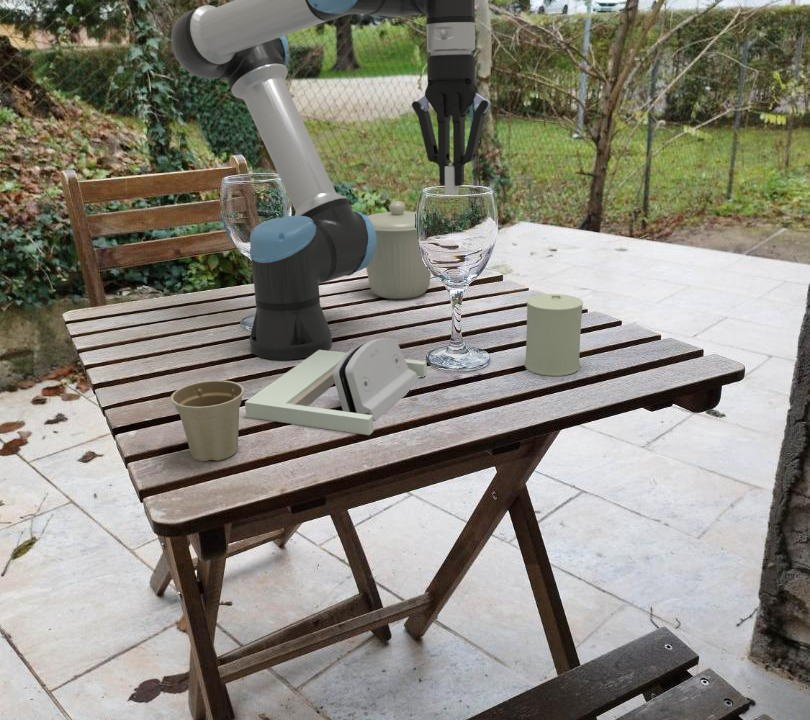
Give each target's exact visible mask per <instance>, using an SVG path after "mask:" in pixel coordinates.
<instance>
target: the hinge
mask: <svg viewBox="0 0 810 720" xmlns="http://www.w3.org/2000/svg"><path fill="white" fill-rule="evenodd" d="M345 353H346V354H345V355H344V356H343V357H342V359H341V360H340V361H339V363H338V364H337V366H336V368H335V370H334V371H333V378H334V382H335V388H336V392H337V395H338V397H339V402H340V406H341V409H342V411H345V412H352V413H359V414H368V415H373V422H376V421H377V420H378V419H379V418H381V417H382V416H383V415H384V414H385V413H387V412H388V411H389V410H390V409H391V408H392V407H394V406H395V405H396V404H397V403H398V402H399V401H401V400H402V399H403V398H404V397H405V396H406V395H408V394H409V393H410V392H409V390H410V389H411V388H412V387H413V386H414V385H416V384H417V383H418V382H420V379H419V377H418V376H417V374H416V372H414V371H412V370H410V369H409V368H408V365H407V363H406V361H405V359H406V358H405V356H404V354H403V352H402V350H401V348H400V345H399V343H398V341H397V339H396V338H394V337H393V338H391V337H390V338H389V337H385V338H384V337H383V338H374V339H371V340H367V341H364V342H362V343H360V344H358V345H356V346H354V347H353V348H351V349H350V350H348V351H347V352H345ZM408 392H409V393H408ZM407 393H408V394H407ZM387 410H388V411H387Z"/></svg>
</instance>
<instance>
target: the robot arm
mask: <svg viewBox="0 0 810 720" xmlns="http://www.w3.org/2000/svg"><path fill="white" fill-rule="evenodd" d="M475 9H476V0H231V1H230V2H226V3H225V4H222V5H219V6H214V5H210V4H206V5H202V6H199V7H197V8H193V9H191V10H189V11H187V12H185V13H184V14H182V15H181V16H179V18H178V19H177V20H176V21H175V23H174V25H173V28H172V31H171V39H170V42H171V48H172V52H173V56H175V59H176V60H177V62H178V63H179V64H180V66H181V67H182V68H183V69H185V71H186V72H188V73H190V74H191V75H193V76H196V77H198V78H202V79H207V80H211V79H212V80H216V79H218V80H219V79H220V80H223V79H224V80H225V81H226V83H227V86H228V87H229V89H230V91H231V93H232V95H233V97H235V98H237V99H240V100H242V101H244V103H245V105H246V108H247V110H248V112H249V114H250V116H251V119H252V120H253V122H254V125H255V127H256V129H257V131H258V133H259V135H260V138H261V140H262V142H263V144H264V146H265V148H266V150H267V153H268V155H269V156H270V159H271V161H272V163H273V166H274V168H275V169H276V172H277V174H278V176H279V178H280V180H281V182H282V185H283V187H284V189H285V191H286V193H287V196H288V198H289V199H290V202H291V204H292V207H293V209H294V211H295V214H294V215H289V216H287V215H286V216H284V217H277V218H271V219H269V220H265V221H263V222H261V223H259V224H257V225H256V226H255V227H254V228H253V229H252V230H251V232H250V235H249V236H250V237H249V240H250V241H249V243H250V245H249V246H250V249H249V256H250V262H251V268H252V270H251V271H252V278H253V289H254V298H255V308H256V309H255V314H254V318H253V323H252V327H251V331H250V335H249V336H250V337H249V346H250V351H251V353H252V354H253V355H254V356H256V357H259V358H262V359H267V360H276V361H277V360H278V361H291V360H299V359H307V358H308V357H310V356H311V355H312V354H314V353H315V352H317V351H318V350H326V351H329V350H330V349H331V347H332V346H333V337H332V336H333V335H332V330H331V328H330V326H329V323H328V321H327V318H326V316H325V314H324V311H323V309H322V306H321V301H320V300H321V299H320V286H319V284H324V283H326V282H327V283H328V282H330V281H333V280H336V279H339V278H342V277H349V276H352V275H354V274H355V273H357V272H360V271H362V270H363V269H365V268H366V266H368V265H369V263H370V262H371V261H372V259H373V257H374V251H375V249H376V243H377V240H376V233H375V229H374V226H373V224H372V222H371V221H370V219H369V218H368V217H367V216H368V215H366V214H363V213H362V212H360V211H357V210H353V208H352V206H351V203H350V201H349V199H348V197H346V196H344V195H342V194H339V193H337V192H336V190H335V188H334V186H333V183H332V181H331V180H330V177H329V175H328V173H327V171H326V168H325V165H324V164H323V162H322V160H321V158H320V155H319V153H318V151H317V149H316V146H315V145H314V142H313V141H312V138H311V136H310V133H309V131H308V129H307V127H306V124H305V122H304V121H303V119H302V116H301V115H300V112H299V109H298V107H297V105H296V103H295V101H294V99H293V98H292V97H293V96H292V95H291V93H290V91H289V89H288V86H287V84H286V79H287V76H288V72H289V71H288V68H287V65H288V63H289V59H290V55H289V54H288V51H289V50H290V48H289V43H288V39H287V36H288V35H290V34H293V33H297V32H299V31H303V30H305V29H308V28H311V27H314V26H317V25H319V24H322V23H326V22H329V21H332V20H336V19H339V18H341V17H344V16H348V15H363V16H364V15H365V16H370V17H372V18H375V19H389V20H391V19H395V18H398V17H410V16H418V15H425V16H426V17H425V19H426V51H427V52H428V53H430V55H428V57H427V58H426V65H427V66H426V72H427V76H426V77H427V86H426V89H425V90H424V95H423V96H422V97H420V99H418V100H415V101H413V102H412V103H411V107H412V109H413V111H414V112H415V114H416V116H417V119H418V122H419V127H420V131H421V135H422V139H423V144H424V149H425V152H426V156H427V160H428V161H429V162H430V163H433V164H436V165H437V166H438V169H439V170H438V172H439V173H438V174H439V177H438V179H439V181H438V183H439V184H440V186H443V187H444V196H445V195H458V194H459V187H461V186H463V185H464V183H465V165H466V164H467V163H471V162H473V161H475V159H476V157H477V152H478V148H479V144H480V139H481V135H482V131H483V128H484V127H483V126H484V122H485V118H486V115H487V113H488V112H489V109H490V108H491V106H492V101H491V100H490V99H486V98H484V97H483V96H482V95H480V94H479V91H478V88H477V85H476V57H475V55H474V54H472V52H474V51H475V49H476V21H475V19H476V17H475V16H476V15H475V11H476V10H475ZM473 103H474V105H473ZM429 104H430V105H429ZM472 105H473V108H474V110H475V111H474V113H473V115H472V116H473V117H472V121H471V125H470V129H469V130H470V131H469V134H468V135H469V136H468V139H467V143H466V135H465V134H466V129H465V128H466V126H465V125H466V124H465V123H466V119H467V118H466V117H467V114H466V113H467V112H468V111H469V109H470V108H471V106H472ZM430 106H431V107H432V109H433V111H434V112H435V113H436V123H437V140H436V136H435V135H436V134H435V131H434V127H433V122H432V119H431V115H430V112H429V109H430ZM451 121H452V125H453V126H452V133H453V134H452V135H453V136H452V140H453V143H452V145H453V146H452V151H453V152H452V153H453V155H452V156H453V158H452V159H453V160H451V156H450V155H451V151H450V150H451V142H450V141H451V138H450V137H451V135H450V133H451V131H450V129H451V128H450V127H451V125H450V123H451ZM452 161H453V162H452ZM459 195H460V194H459Z"/></svg>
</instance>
